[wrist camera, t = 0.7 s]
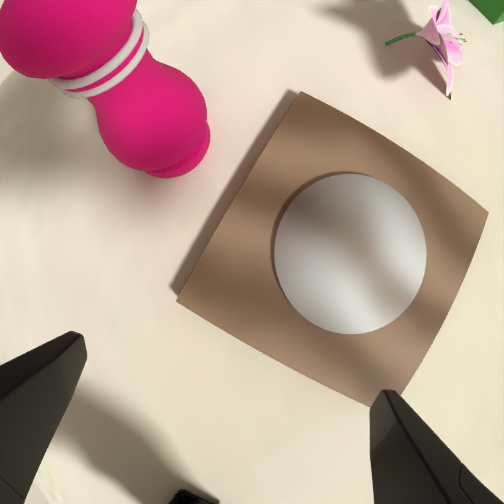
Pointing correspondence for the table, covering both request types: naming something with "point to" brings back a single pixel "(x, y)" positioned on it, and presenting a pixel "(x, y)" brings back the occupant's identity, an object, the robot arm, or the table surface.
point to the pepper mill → (111, 78)
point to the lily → (441, 39)
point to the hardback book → (490, 9)
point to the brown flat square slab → (337, 254)
